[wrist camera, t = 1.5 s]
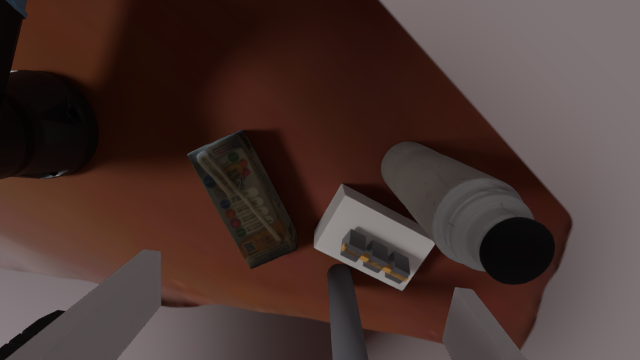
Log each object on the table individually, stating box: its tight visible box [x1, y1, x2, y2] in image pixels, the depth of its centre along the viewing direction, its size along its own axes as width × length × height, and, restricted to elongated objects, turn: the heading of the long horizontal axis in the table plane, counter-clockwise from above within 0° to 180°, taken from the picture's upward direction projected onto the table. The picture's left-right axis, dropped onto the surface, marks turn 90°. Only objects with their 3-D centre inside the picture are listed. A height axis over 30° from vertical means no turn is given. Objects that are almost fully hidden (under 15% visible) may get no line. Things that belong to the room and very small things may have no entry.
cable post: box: [327, 264, 368, 360], centre depth 42 cm, size 4×4×22 cm
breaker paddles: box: [340, 229, 410, 284], centre depth 43 cm, size 10×2×3 cm, turn 61°
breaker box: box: [314, 184, 435, 291], centre depth 48 cm, size 15×9×6 cm, turn 61°
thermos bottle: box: [381, 141, 555, 285], centre depth 35 cm, size 8×8×28 cm
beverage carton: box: [187, 130, 298, 269], centre depth 46 cm, size 8×19×7 cm, turn 24°
